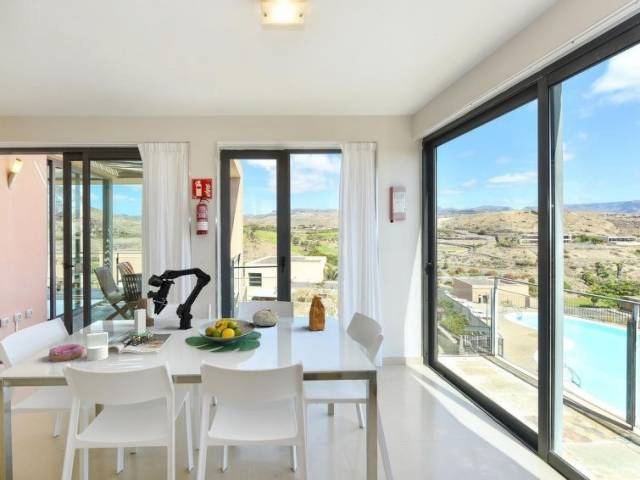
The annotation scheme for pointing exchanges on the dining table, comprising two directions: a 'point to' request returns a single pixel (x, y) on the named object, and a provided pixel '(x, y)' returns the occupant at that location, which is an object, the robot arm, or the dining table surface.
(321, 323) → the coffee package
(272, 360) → the dining table surface
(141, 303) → the brown boot
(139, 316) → the column on green base
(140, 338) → the plate
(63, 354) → the donut
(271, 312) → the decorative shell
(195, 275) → the robot arm
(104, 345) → the cylinder with rectangular tab
